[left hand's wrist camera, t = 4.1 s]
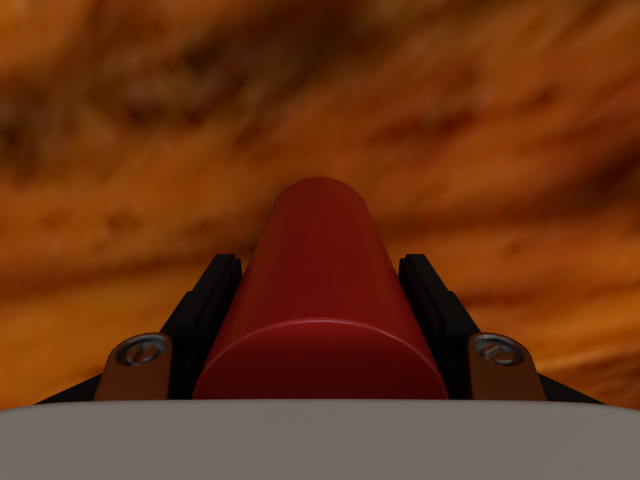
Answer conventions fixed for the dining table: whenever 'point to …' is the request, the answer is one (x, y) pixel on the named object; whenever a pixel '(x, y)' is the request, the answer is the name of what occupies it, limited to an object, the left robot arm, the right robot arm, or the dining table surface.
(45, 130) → the dining table surface
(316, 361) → the tin
